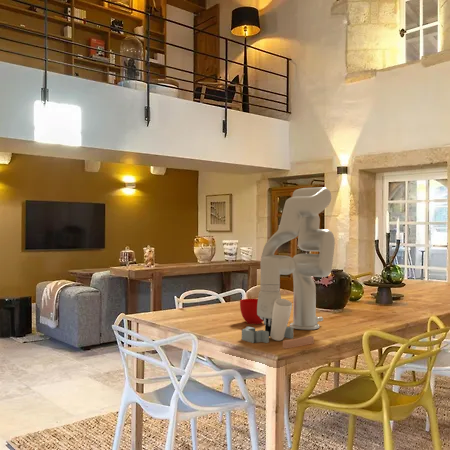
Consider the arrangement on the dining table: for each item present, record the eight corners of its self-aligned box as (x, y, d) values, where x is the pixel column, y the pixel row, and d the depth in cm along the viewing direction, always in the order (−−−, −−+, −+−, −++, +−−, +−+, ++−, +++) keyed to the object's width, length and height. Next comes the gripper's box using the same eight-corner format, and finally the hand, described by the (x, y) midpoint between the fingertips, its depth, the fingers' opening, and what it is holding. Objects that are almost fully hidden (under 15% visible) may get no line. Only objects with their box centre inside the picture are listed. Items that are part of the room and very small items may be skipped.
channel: (272, 333, 209) (272, 323, 209) (313, 343, 191) (313, 332, 191) (237, 338, 198) (237, 328, 198) (277, 350, 180) (277, 338, 180)
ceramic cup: (266, 318, 242) (266, 297, 242) (270, 325, 225) (270, 302, 225) (238, 318, 241) (238, 297, 241) (240, 325, 224) (240, 302, 224)
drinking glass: (275, 331, 201) (281, 296, 196) (289, 338, 196) (296, 303, 192) (264, 336, 196) (270, 301, 191) (278, 344, 192) (285, 308, 187)
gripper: (250, 287, 203) (250, 333, 203) (275, 290, 191) (274, 340, 191) (265, 286, 208) (264, 331, 207) (290, 289, 196) (289, 338, 195)
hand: (269, 335), depth 199 cm, fingers closed
